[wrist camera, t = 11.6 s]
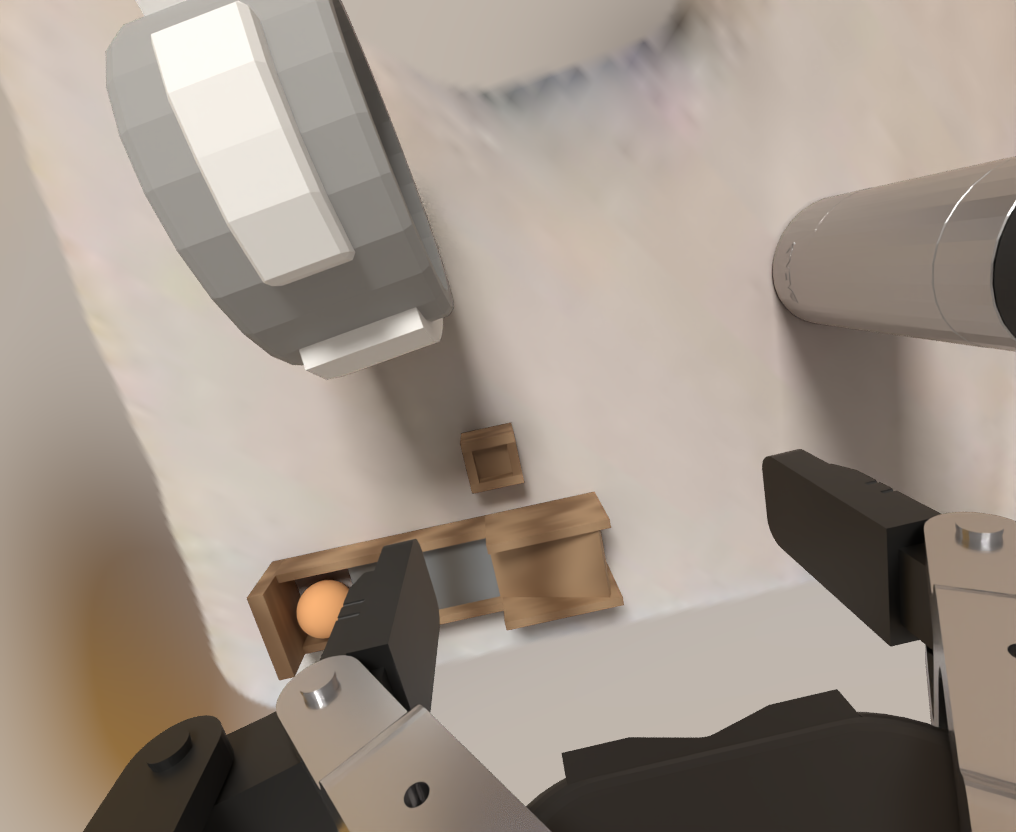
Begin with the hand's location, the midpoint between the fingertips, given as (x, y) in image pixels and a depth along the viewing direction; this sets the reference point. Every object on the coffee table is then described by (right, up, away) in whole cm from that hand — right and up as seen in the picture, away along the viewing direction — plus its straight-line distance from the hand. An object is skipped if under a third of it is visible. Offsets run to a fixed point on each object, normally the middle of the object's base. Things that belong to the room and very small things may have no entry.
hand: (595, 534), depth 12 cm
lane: (-7, -10, +32) cm, 34 cm away
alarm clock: (-12, +17, +25) cm, 32 cm away
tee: (-3, 0, +30) cm, 30 cm away
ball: (-16, -13, +30) cm, 36 cm away
